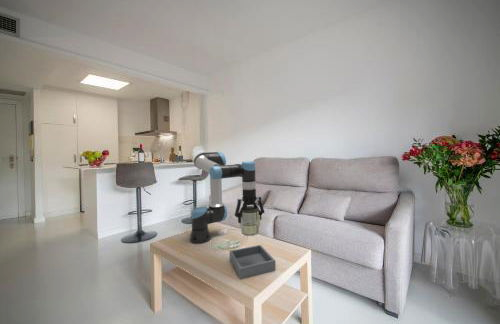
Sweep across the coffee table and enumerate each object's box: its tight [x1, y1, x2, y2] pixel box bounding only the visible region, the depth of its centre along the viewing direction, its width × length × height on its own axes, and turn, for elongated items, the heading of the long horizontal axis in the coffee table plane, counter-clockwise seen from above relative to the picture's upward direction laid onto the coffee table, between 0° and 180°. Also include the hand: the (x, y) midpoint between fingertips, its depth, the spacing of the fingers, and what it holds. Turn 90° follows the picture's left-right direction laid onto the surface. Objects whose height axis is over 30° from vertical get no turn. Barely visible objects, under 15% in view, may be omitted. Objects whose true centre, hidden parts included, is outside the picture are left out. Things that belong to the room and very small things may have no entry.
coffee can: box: [240, 205, 260, 237], centre depth 121 cm, size 10×10×14 cm
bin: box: [229, 244, 276, 280], centre depth 122 cm, size 20×20×6 cm
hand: (250, 226), depth 121 cm, fingers closed on coffee can, 10 cm apart
